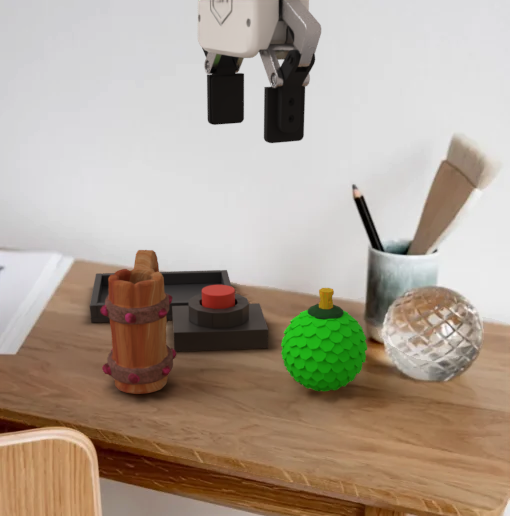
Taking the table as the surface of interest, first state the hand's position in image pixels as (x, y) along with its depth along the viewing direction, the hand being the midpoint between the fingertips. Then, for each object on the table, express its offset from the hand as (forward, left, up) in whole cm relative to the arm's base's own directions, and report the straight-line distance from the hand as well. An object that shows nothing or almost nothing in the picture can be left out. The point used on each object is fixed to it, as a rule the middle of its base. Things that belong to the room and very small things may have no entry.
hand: (253, 131), depth 68 cm
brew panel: (-2, +17, -25) cm, 30 cm away
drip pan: (-8, +28, -25) cm, 38 cm away
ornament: (+7, +3, -25) cm, 26 cm away
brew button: (-2, +17, -21) cm, 27 cm away
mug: (-10, +7, -25) cm, 28 cm away
